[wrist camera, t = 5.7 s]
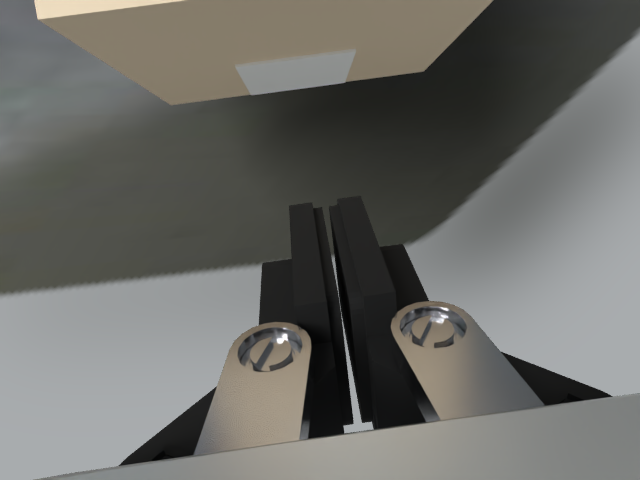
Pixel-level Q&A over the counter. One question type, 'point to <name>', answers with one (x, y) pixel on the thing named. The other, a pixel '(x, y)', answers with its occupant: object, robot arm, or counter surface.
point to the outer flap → (258, 41)
